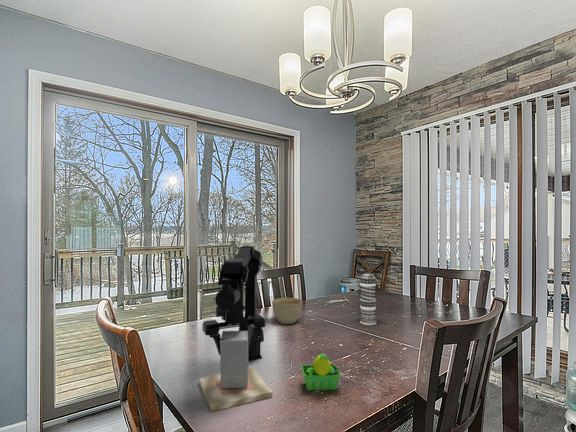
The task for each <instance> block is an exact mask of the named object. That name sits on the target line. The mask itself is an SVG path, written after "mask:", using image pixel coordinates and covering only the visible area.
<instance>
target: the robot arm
mask: <svg viewBox="0 0 576 432" xmlns="http://www.w3.org/2000/svg"><path fill="white" fill-rule="evenodd" d="M262 265H263V256H262V253H261V252H260V251H258V250H257V249H255V246H252V245H242V246H239V250H238V251H237V252H236V255H235V256H234V257H233V258H228V259H226V260H225V261H224V262H223V264H221V268H220V270H219V271H220V272H219V277H218V282H217V285H218V286H221V290H220V291H218V292H217V293H216V295H215V298H214V301H215V304H216V306H215V317H216V318H221V320H222V322H218V321H217V320H216V319H211V320H204V321H203V322H202V324H201V325H202V332H203V334H204V335H206V336H208V337H209V338H212V339H213V341H214V344H215V346H216V350H217V352H218V356H220V339H221V334H220V333H219V332H220V330H223V329H230V328H238V331H248V361H252V360H253V361H254V360H258V359H262V358H263V356H262V355H261V343H262V342H264V341H265V334H264V330H263V328H265V327H266V320H265V319H266V318H265V317H263V316H262V315H261V314H259V313H258V314H257V294H258V293H257V292H258V291H257V289H258V288H257V285H258V282H257V280H258V275H259V273H260V271H261V270H262Z"/></svg>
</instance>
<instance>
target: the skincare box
mask: <svg viewBox="0 0 576 432" xmlns="http://www.w3.org/2000/svg"><path fill="white" fill-rule="evenodd" d="M219 356H220V358H219V359H220V361H219V363H220V364H219V365H220V366H219V367H220V369H219V370H220V374H221V388H247V386H248V369H249V360H248V331H239V330H223V331H222V332H221V335H220V355H219Z"/></svg>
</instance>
